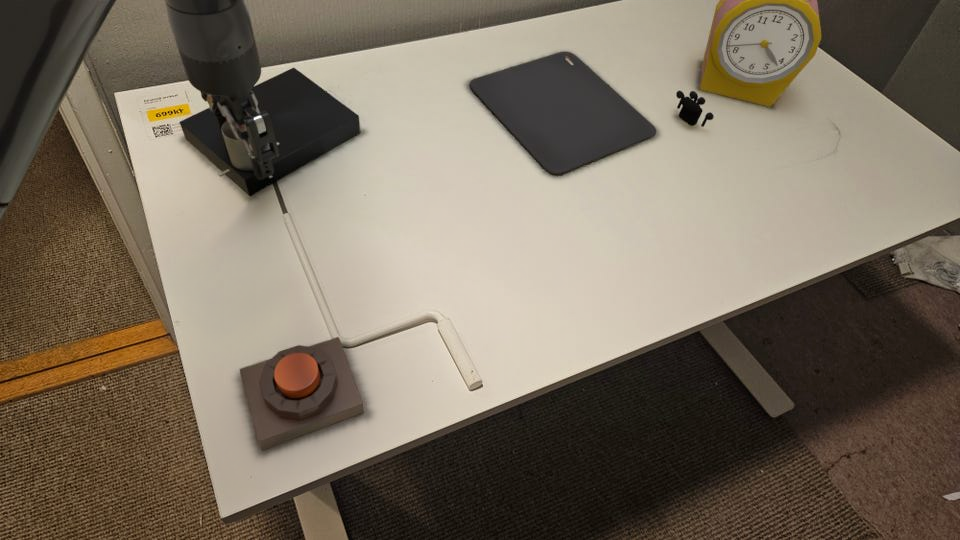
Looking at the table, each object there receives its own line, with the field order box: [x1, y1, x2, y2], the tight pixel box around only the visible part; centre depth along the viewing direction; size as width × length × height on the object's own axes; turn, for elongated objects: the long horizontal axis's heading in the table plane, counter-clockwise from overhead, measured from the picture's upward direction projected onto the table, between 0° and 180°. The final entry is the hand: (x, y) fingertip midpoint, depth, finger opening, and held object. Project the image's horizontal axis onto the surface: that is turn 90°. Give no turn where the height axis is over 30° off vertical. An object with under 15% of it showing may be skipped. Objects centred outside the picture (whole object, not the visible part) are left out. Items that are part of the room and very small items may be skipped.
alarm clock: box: [699, 0, 822, 108], centre depth 93 cm, size 15×8×18 cm, turn 74°
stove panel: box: [179, 67, 361, 197], centre depth 81 cm, size 20×16×3 cm
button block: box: [239, 336, 365, 451], centre depth 60 cm, size 10×8×4 cm
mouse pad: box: [469, 51, 657, 175], centre depth 92 cm, size 23×20×1 cm
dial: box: [221, 121, 253, 171], centre depth 73 cm, size 4×4×5 cm
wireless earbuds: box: [675, 90, 715, 128], centre depth 91 cm, size 7×2×5 cm, turn 38°
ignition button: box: [274, 353, 320, 399], centre depth 58 cm, size 4×4×2 cm
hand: (247, 155), depth 75 cm, fingers open, 8 cm apart
